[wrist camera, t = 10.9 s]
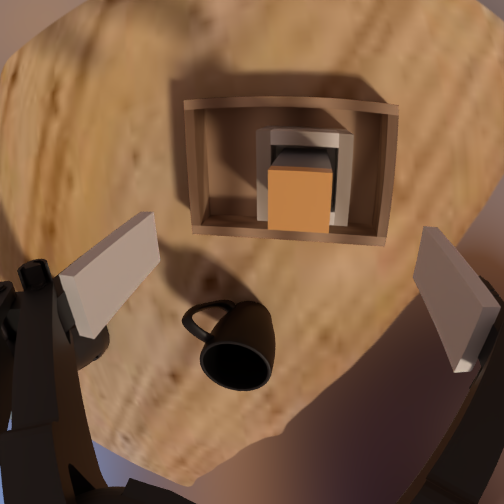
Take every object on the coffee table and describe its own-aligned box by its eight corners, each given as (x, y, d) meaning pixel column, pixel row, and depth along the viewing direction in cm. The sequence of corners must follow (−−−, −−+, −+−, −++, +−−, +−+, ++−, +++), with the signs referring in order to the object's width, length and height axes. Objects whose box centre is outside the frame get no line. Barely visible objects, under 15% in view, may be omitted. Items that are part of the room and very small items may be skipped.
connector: (283, 187, 31) (267, 229, 21) (284, 147, 29) (267, 169, 20) (324, 190, 30) (328, 233, 21) (326, 149, 29) (332, 173, 19)
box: (204, 221, 38) (182, 245, 31) (197, 100, 31) (170, 100, 25) (378, 231, 34) (390, 260, 28) (389, 105, 28) (407, 105, 22)
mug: (230, 259, 39) (205, 303, 31) (294, 322, 42) (286, 375, 33) (189, 293, 43) (160, 338, 34) (250, 349, 45) (235, 399, 37)
